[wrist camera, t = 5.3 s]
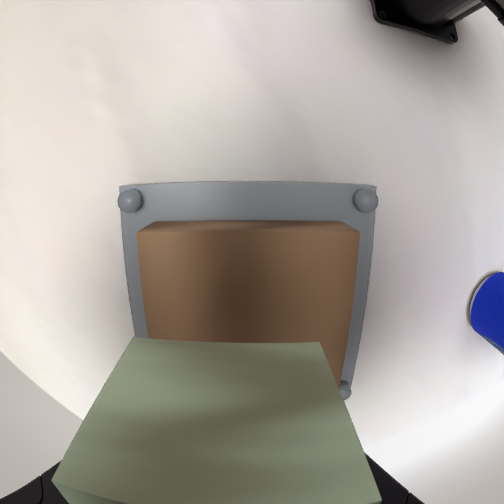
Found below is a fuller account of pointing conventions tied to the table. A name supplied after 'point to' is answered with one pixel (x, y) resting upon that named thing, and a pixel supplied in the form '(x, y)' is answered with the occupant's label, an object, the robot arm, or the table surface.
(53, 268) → the table surface
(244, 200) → the baseplate
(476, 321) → the beverage can
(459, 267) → the table surface
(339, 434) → the block
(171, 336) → the base brick
